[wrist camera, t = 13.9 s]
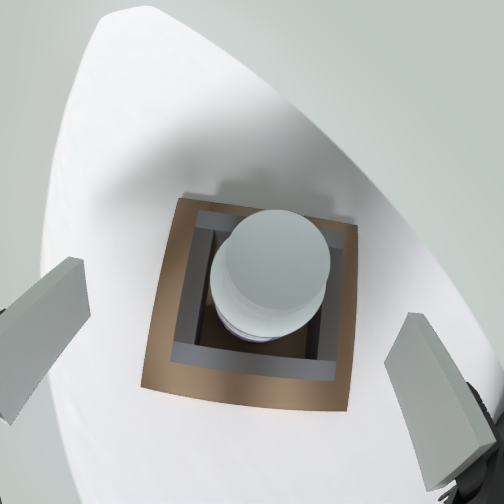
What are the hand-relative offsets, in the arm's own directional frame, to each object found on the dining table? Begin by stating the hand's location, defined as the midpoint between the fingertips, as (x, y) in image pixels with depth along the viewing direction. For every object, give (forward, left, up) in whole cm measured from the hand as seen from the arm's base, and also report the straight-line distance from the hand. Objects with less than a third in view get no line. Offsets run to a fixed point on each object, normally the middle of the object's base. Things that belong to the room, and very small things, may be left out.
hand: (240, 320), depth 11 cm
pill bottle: (-1, -2, -9) cm, 9 cm away
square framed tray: (-1, -2, -10) cm, 10 cm away
